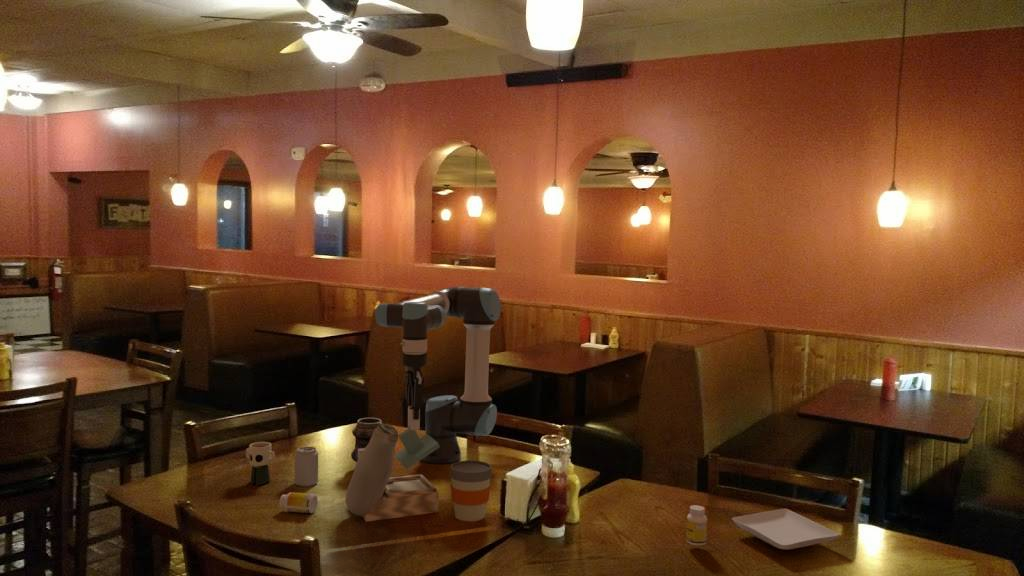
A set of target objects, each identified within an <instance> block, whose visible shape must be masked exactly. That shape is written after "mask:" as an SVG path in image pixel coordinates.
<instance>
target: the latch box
mask: <svg viewBox="0 0 1024 576" xmlns="http://www.w3.org/2000/svg"><path fill="white" fill-rule="evenodd" d="M389 479H392V480H393V484H389V485H386V488H385V490H384V493H383V495H382V498H381V499H379V500H378V501H377V503H376V505H375V507H374V508H373V510H372V511H371V512H370V513H368V514H366V515H365V516H361V517H362V518H363V520H364V521H365V522H373V521H374V522H375V521H381V520H389V519H396V518H403V517H405V518H406V517H411V516H418V515H425V514H433V513H435V514H436V513H439V494H440V493H439V491H437V488H436V487H435V486H434V485H433V484H432V483H431V482H430V481H429V480H428V479H427V478H426V477H425V476H424V475H423V473H422V474H412V475H402V476H395V477H389Z"/></svg>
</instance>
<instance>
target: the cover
mask: <svg viewBox="0 0 1024 576" xmlns="http://www.w3.org/2000/svg"><path fill="white" fill-rule="evenodd" d="M410 428H411V427H410ZM410 428H407V429H405V430H404V431H403V432H401V433H398V439H399V441H400V442H401V444H402V445H403V447H404V448H403V449H402V450H400V451H398V452H397V453H396V454H394V458H396V460H397V461H398V462H399V463H400V465H402V466H403V468H405V470H409V468H411V467H413V466H414V465H415V464H417V463H419V462H420V461H422V460H421V459H423V458H424V457H426V456H427V455H429V454H430V453H432V452H433V451H435V450H436V449H438V448H439V447H440V446H439V444H438V443H437V442H436V441H435V440H434V439H433V438H431V437H430V436H429V435H428V434H426V435H425V434H424V435H423V436H421V437H420V436H419V435H418V433H417V432H416V431H417V430H410Z"/></svg>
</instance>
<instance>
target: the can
mask: <svg viewBox="0 0 1024 576" xmlns="http://www.w3.org/2000/svg"><path fill="white" fill-rule="evenodd" d="M318 482H319V452H318V451H317V448H316V447H314V446H301V447H299V448H297V449H296V452H295V454H294V484H295V485H297V486H298V487H300V488H301V487H302V488H306V487H307V488H308V487H313V486H315V485H316V484H317V483H318Z"/></svg>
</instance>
